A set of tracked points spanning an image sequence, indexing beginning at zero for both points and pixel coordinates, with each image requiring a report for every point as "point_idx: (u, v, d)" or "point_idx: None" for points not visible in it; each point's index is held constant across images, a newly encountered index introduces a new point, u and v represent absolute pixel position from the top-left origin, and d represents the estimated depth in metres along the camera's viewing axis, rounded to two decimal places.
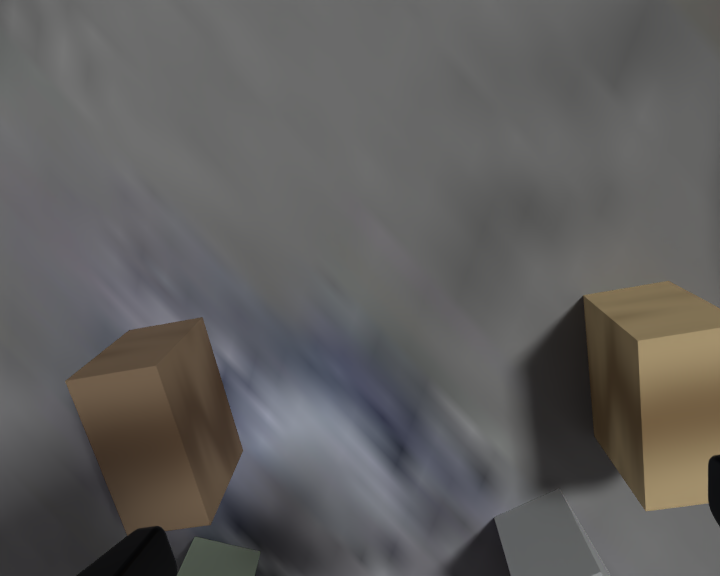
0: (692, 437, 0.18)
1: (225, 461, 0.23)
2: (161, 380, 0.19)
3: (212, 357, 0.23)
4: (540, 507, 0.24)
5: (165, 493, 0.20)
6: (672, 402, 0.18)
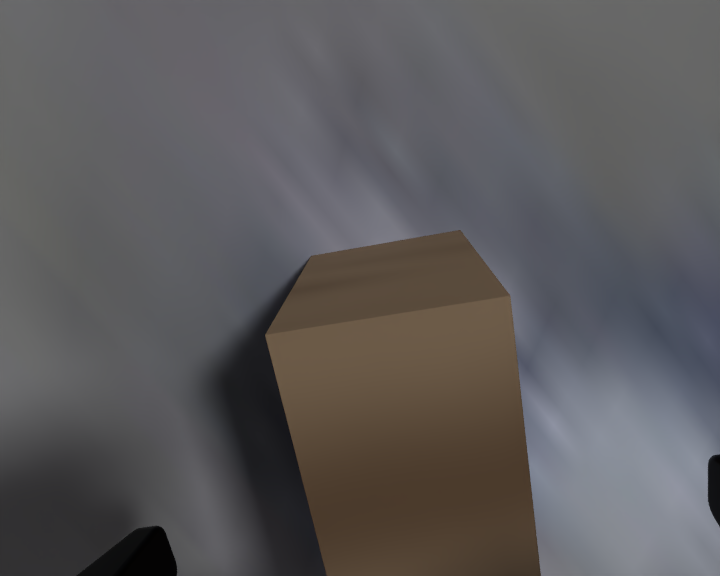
0: None
1: None
2: (513, 335, 0.07)
3: None
4: None
5: None
6: None
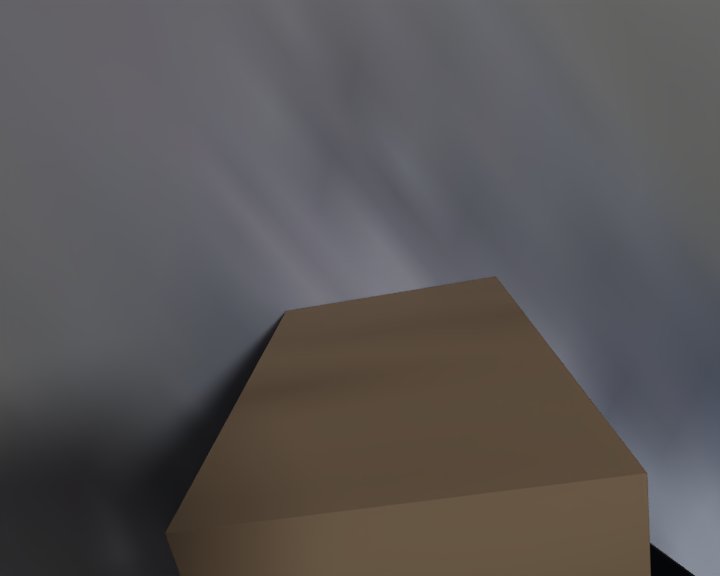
0: None
1: None
2: (644, 538, 0.04)
3: None
4: None
5: None
6: None
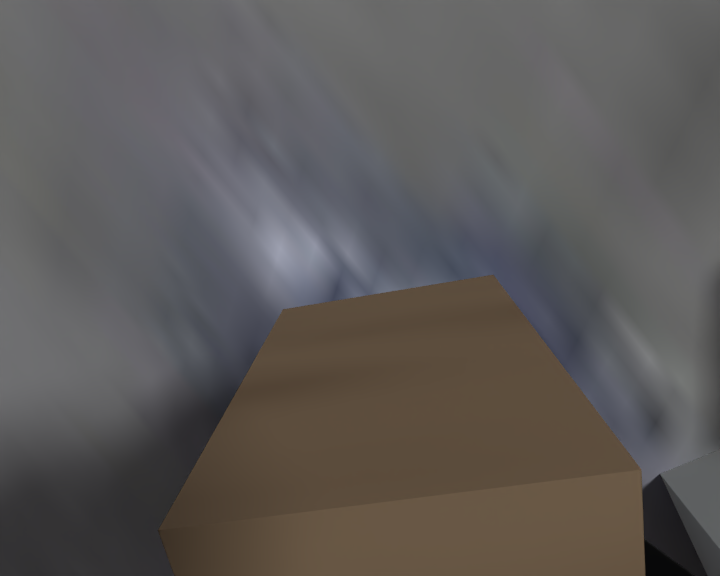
0: None
1: None
2: (638, 535, 0.04)
3: None
4: None
5: None
6: None
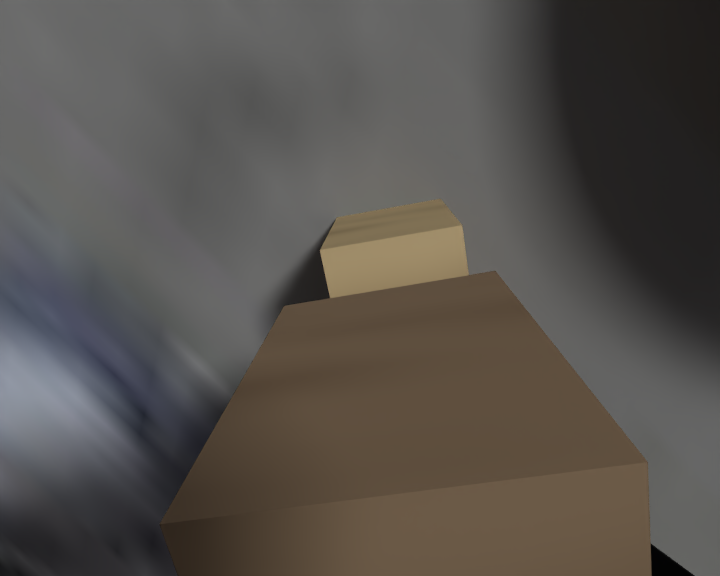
0: None
1: None
2: (645, 528, 0.04)
3: None
4: None
5: None
6: None
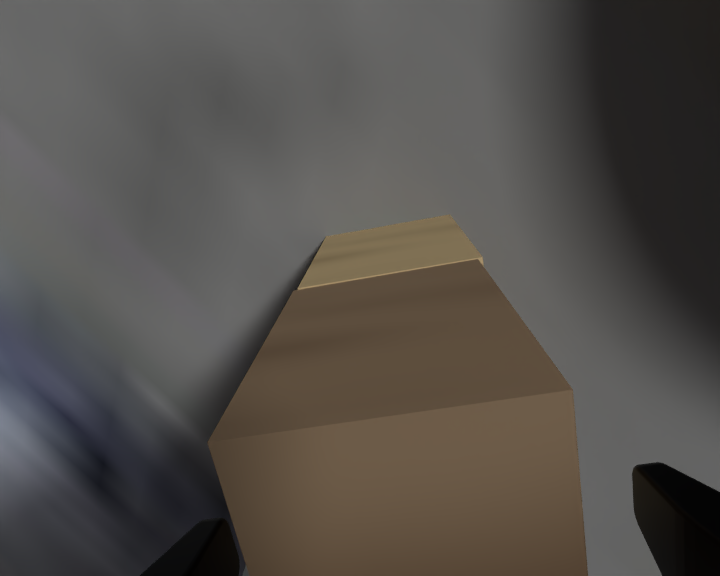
0: None
1: None
2: (574, 443, 0.05)
3: None
4: None
5: None
6: None
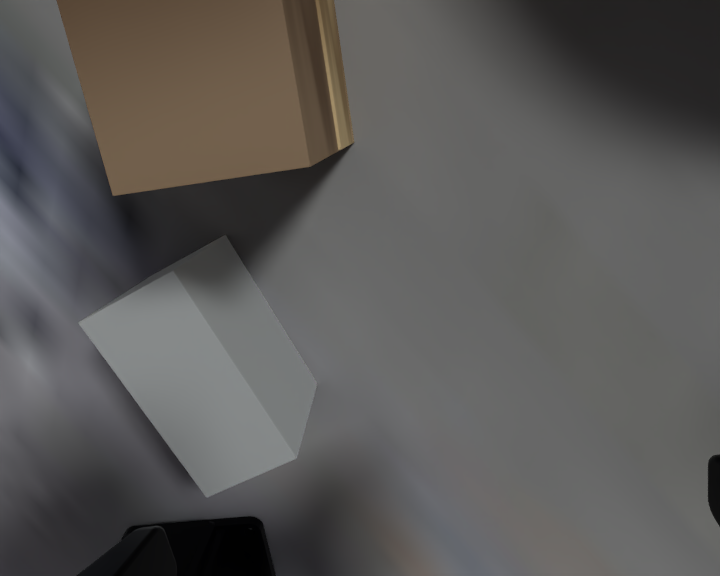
0: None
1: (322, 113, 0.11)
2: None
3: None
4: (193, 253, 0.19)
5: (210, 69, 0.08)
6: None
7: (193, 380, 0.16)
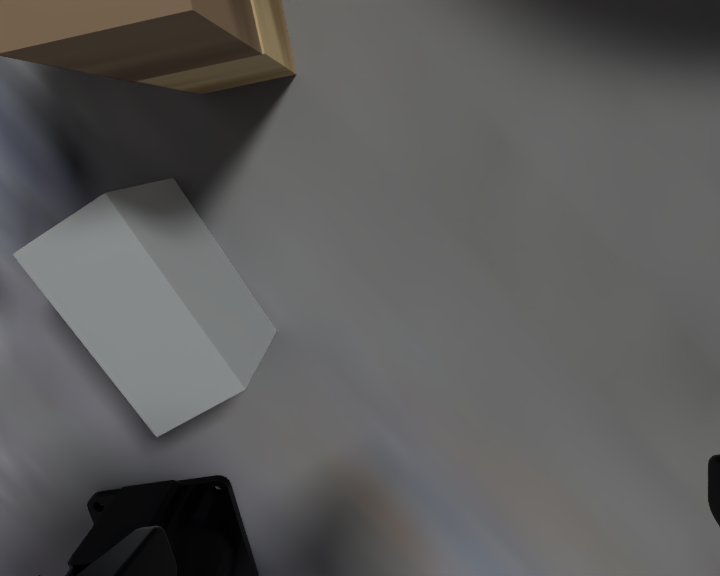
0: None
1: None
2: None
3: None
4: None
5: None
6: None
7: (133, 310, 0.15)
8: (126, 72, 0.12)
